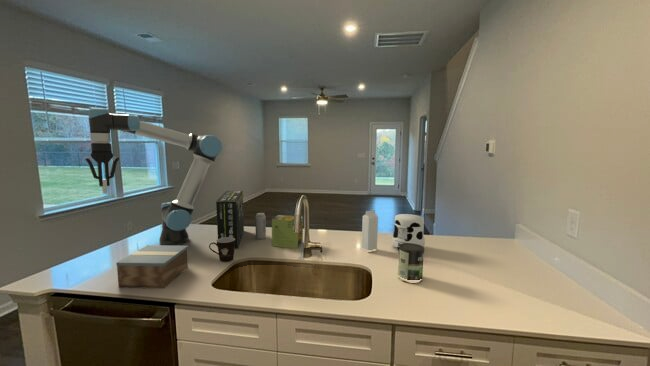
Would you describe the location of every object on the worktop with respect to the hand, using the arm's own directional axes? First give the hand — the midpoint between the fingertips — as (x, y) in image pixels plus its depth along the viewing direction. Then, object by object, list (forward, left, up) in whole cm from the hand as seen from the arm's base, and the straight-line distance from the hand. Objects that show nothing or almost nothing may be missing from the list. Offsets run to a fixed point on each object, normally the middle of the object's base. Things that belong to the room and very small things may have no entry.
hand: (105, 193), depth 141 cm
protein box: (-77, +40, -33) cm, 93 cm away
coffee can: (-88, +111, -33) cm, 145 cm away
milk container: (-121, +91, -33) cm, 155 cm away
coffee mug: (-40, +37, -33) cm, 63 cm away
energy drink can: (-72, +20, -33) cm, 82 cm away
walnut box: (-10, +36, -32) cm, 49 cm away
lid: (-10, +36, -23) cm, 44 cm away
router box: (-58, +11, -33) cm, 67 cm away
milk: (-103, +78, -33) cm, 133 cm away
